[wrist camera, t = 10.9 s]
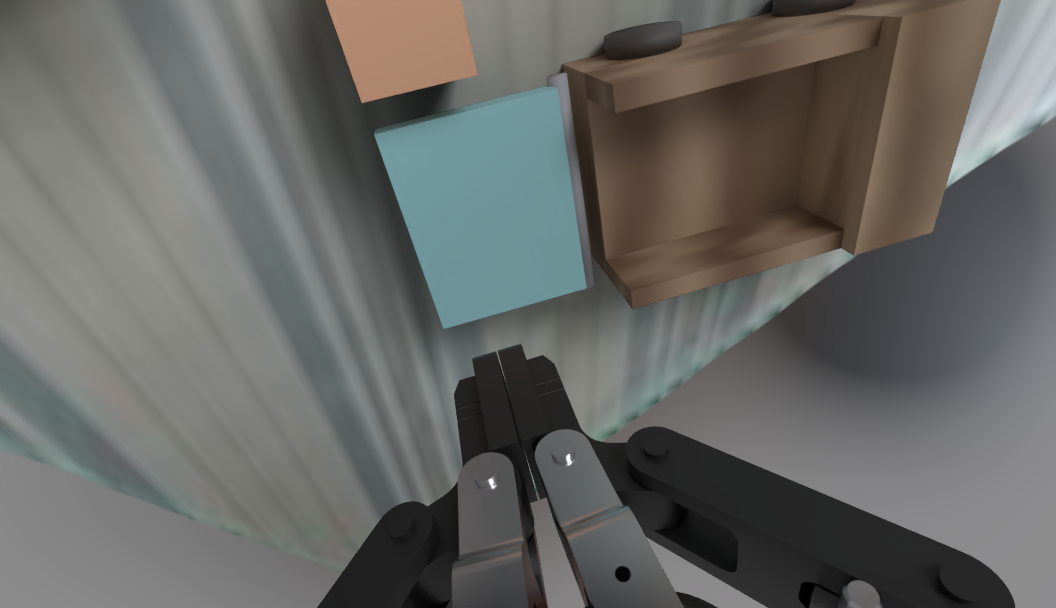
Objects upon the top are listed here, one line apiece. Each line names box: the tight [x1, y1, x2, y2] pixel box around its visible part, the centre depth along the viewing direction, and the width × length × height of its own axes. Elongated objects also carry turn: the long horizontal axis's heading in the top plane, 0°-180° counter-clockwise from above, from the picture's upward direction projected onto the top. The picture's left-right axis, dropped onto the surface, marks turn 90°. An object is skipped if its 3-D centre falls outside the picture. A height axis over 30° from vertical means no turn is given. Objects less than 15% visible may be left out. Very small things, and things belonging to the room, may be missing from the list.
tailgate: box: [374, 73, 595, 329], centre depth 27 cm, size 2×12×10 cm
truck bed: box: [562, 0, 1001, 309], centre depth 28 cm, size 18×14×9 cm
